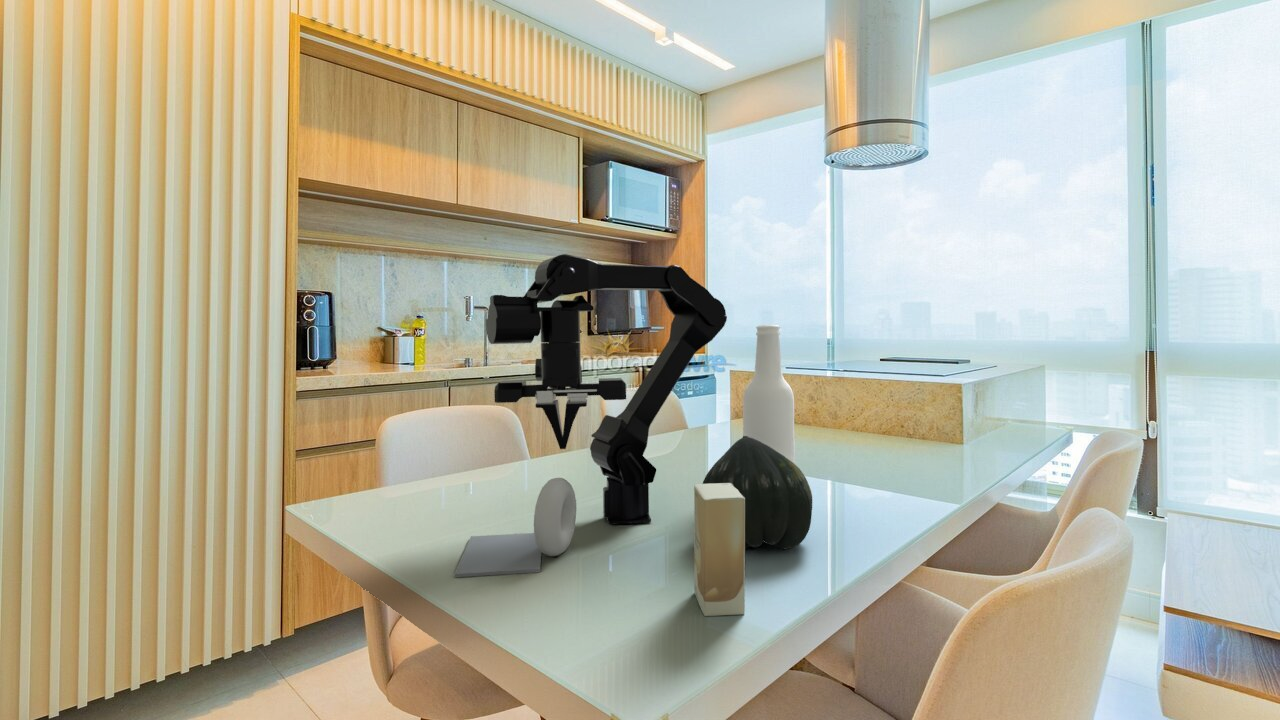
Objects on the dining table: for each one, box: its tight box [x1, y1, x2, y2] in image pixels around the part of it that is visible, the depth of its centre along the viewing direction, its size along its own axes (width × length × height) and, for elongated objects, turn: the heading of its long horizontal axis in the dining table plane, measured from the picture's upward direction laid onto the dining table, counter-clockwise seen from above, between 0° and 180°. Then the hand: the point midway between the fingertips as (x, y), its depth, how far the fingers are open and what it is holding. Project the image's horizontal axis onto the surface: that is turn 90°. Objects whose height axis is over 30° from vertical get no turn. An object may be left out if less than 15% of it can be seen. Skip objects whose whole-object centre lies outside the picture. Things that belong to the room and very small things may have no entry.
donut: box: [533, 477, 577, 557], centre depth 81 cm, size 10×3×10 cm, turn 168°
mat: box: [454, 532, 542, 578], centre depth 81 cm, size 10×14×1 cm
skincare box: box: [693, 483, 746, 617], centre depth 65 cm, size 6×4×12 cm
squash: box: [702, 435, 813, 550], centre depth 85 cm, size 14×15×15 cm
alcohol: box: [742, 324, 795, 464], centre depth 108 cm, size 9×9×30 cm
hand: (563, 448), depth 91 cm, fingers closed
